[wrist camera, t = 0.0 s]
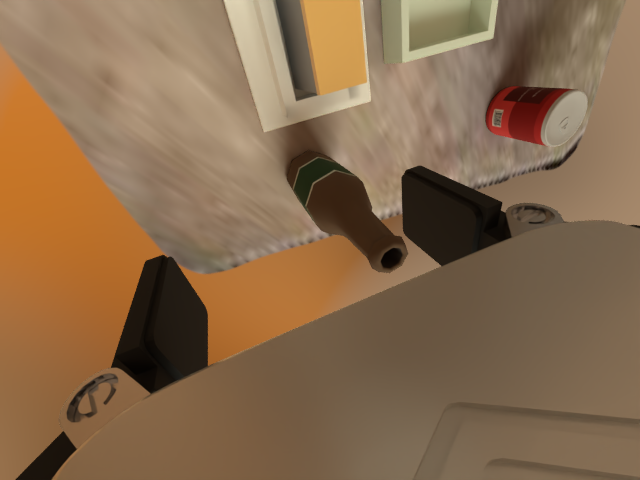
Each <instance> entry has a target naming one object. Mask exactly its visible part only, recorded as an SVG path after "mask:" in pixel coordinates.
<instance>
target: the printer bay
mask: <svg viewBox="0 0 640 480" xmlns="http://www.w3.org/2000/svg"><path fill="white" fill-rule="evenodd" d="M223 3H224V6H225V9H226V13H227V16H228V19H229V22H230V26H231V29H232V32H233V35H234V39H235V42H236V45H237V48H238V51H239V55H240V58H241V61H242V64H243V68H244V71H245V74H246V77H247V81H248V84H249V87H250V90H251V94H252V97H253V100H254V103H255V107H256V110H257V113H258V116H259V120H260V123H261V126H262V129H263V132H268V131H271V130H274V129H278V128H281V127H285V126H288V125H291V124H295V123H298V122H302V121H305V120H308V119H312V118H315V117H319V116H322V115H325V114H329V113H332V112H336V111H339V110H342V109H346V108H349V107H353V106H356V105H359V104H363V103H366V102H370V101H371V96H370V84H369V72H368V59H367V47H366V35H365V23H364V11H363V0H360V7H361V18H362V30H363V41H364V53H365V64H366V76H367V83H364V84H360V85H357V86H353V87H349V88H346V89H342V90H339V91H335V92H332V93H328V94H325V95H321V96H320V95H317V93H313V92H308V91H303V90H299V89H295V85H294V80H293V76H292V71H291V67H290V62H289V58H288V53H287V49H286V44H285V40H284V35H283V31H282V26H281V22H280V17H279V13H278V9H277V4H276V0H223Z"/></svg>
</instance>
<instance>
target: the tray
mask: <svg viewBox="0 0 640 480" xmlns="http://www.w3.org/2000/svg"><path fill="white" fill-rule="evenodd" d="M497 6H498V0H381V15H382V34H383V52H384V64H391V63H405V62H408V61H412V60H416V59H419V58H423V57H427V56H430V55H434V54H437V53H441V52H445V51H448V50H452V49H456V48H459V47H463V46H467V45H470V44H474V43H478V42H481V41H485V40H488V39H492V38H493V35H494V28H495V20H496V13H497Z"/></svg>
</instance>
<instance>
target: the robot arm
mask: <svg viewBox="0 0 640 480" xmlns="http://www.w3.org/2000/svg"><path fill="white" fill-rule="evenodd" d="M501 206H502V202H501V201H498V200H496V199H494V198H492V197H489V196H487V195H485V194H483V193H480V192H478V191H476V190H474V189H472V188H469V187H467V186H465V185H463V184H460V183H458V182H456V181H454V180H452V179H449V178H447V177H445V176H443V175H440V174H438V173H436V172H434V171H431V170H429V169H427V168H425V167H423V166H417V167H414V168H411V169H408V170H406V171H405V173H404V175H403V176H402V212H403V231H404V234H405V235H406V236H407V237H408V238H409V239H410V240H411V241H413V242H414V243H415V244H416V245H417V246H418V247H420V248H421V249H422V250H423V251H425V252H426V253H427V254H428V255H429V256H430V257H432V258H433V259H434V260H435V261H436V262H438V263H439V264H440V265H441V267H439V268H436V269H434V270H432V271H430V272H427V273H425V274H422V275H420V276H418V277H415V278H413V279H410V280H408V281H406V282H403V283H401V284H398V285H396V286H394V287H392V288H389V289H387V290H384V291H382V292H380V293H377V294H375V295H372V296H370V297H368V298H366V299H363V300H361V301H358V302H356V303H354V304H351V305H349V306H347V307H344V308H342V309H340V310H337V311H335V312H333V313H330V314H328V315H325V316H323V317H321V318H318V319H316V320H314V321H311V322H309V323H307V324H305V325H302V326H300V327H298V328H295V329H293V330H291V331H289V332H286V333H284V334H281V335H279V336H277V337H275V338H272V339H270V340H268V341H265V342H263V343H260V344H258V345H256V346H253V347H251V348H249V349H246V350H244V351H242V352H240V353H237V354H235V355H233V356H230V357H228V358H226V359H223V360H221V361H219V362H216V363H214V364H212V365H210V366H208V314H207V310H206V307H205V305H204V304H203V302H202V301H201V299H200V298H199V296H198V295H197V293H196V292H195V290H194V289H193V288H192V286H191V284H190V283H189V281H188V280H187V278H186V277H185V275H184V274H183V272H182V271H181V269H180V268H179V266H178V265H177V263H176V262H175V260H174V259H173V258H172V257H168V258H167V257H166V256H165V255H161V256H159V257H156V258H153V259H150V260H147V261H146V262H145V264H144V267H143V270H142V273H141V276H140V279H139V283H138V286H137V289H136V292H135V295H134V298H133V301H132V304H131V307H130V310H129V313H128V317H127V319H126V322H125V325H124V329H123V332H122V335H121V338H120V341H119V344H118V347H117V350H116V353H115V357H114V360H113V363H112V366H111V368H108V369H105V370H102V371H100V372H98V373H96V374H94V375H92V376H91V377H89V378H88V379H87V380H85V381H84V382H83V383H82V384H81V385H79V386H78V387H77V389H76V390H74V392H73V393H72V394H71V395H70V396H69V398H68V399H67V400H66V402H65V404H64V406H63V408H62V410H61V412H60V416H59V423H60V427H61V428H62V429H63V432H62V433H61V434H60V435H59V436H58V437H57V438H56V439H55V440H54V441H53V442H52V443H51V444H50V445H49V446H48V447H47V448H46V449H45V450H44V451H43V452H42V453H41V454H40V455H39V456H38V457H37V458H36V459H35V460H34V461H33V462H32V463H31V464H30V465H29V466H28V467H27V469H25V470H24V472H23V473H22V474H20V476H19V477H18V478H17V479H16V480H640V226H637V225H626V224H622V223H618V222H612V221H604V220H601V221H600V220H589V221H575V222H564V221H563V219H562V217H561V215H560V214H559V213H558V211H556V210H555V209H553V208H551V207H548V206H545V205H541V204H535V203H520V204H516V205H513V206H511V207H509V208H508V209H507V210H506V213H505V212H503V211H501Z"/></svg>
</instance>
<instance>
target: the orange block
mask: <svg viewBox="0 0 640 480" xmlns="http://www.w3.org/2000/svg"><path fill="white" fill-rule="evenodd" d="M276 4H277V9H278V13H279V17H280V22H281V26H282V31H283V35H284V40H285V44H286V49H287V53H288V58H289V62H290V67H291V71H292V76H293V80H294V85H295V89H299V90H303V91H308V92H313V93H317V95H320V96H321V95H325V94H328V93H332V92H335V91H339V90H342V89H346V88H349V87H353V86H357V85H360V84H364V83H367V76H366V64H365V53H364V41H363V30H362V18H361V7H360V0H276Z"/></svg>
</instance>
